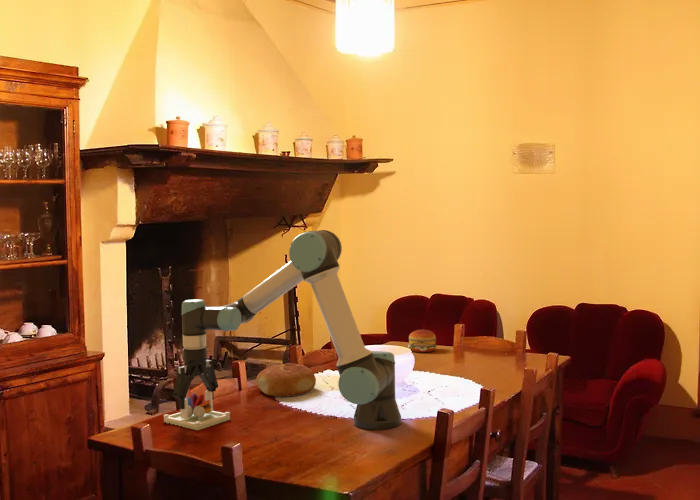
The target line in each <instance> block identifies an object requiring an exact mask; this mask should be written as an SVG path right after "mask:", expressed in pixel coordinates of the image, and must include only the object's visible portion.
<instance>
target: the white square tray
mask: <svg viewBox="0 0 700 500" xmlns="http://www.w3.org/2000/svg"><path fill="white" fill-rule="evenodd" d="M230 415H231V412H230V411H225V412H221V411H215V410H213V411H212V412H210V413H207V414H205V415H204V416H203V417H202V418H197V417H195V416H194V414H193V415H192V416H191V417H189V418H188V419H183V418H181V412H177V413H173V414H163V423H165V422H166V423H165V424H169V423H170V425H173V424H174V425H173V426H177V425H178V426H179V427H181V426H182V427H183V428H185V429H191V430H195V431H199V430H202V429H207V428H209V427H211V426H212V427H213V426H215V425H218V424H221V423H224V422H227V421H230V420H231V417H230Z"/></svg>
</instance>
